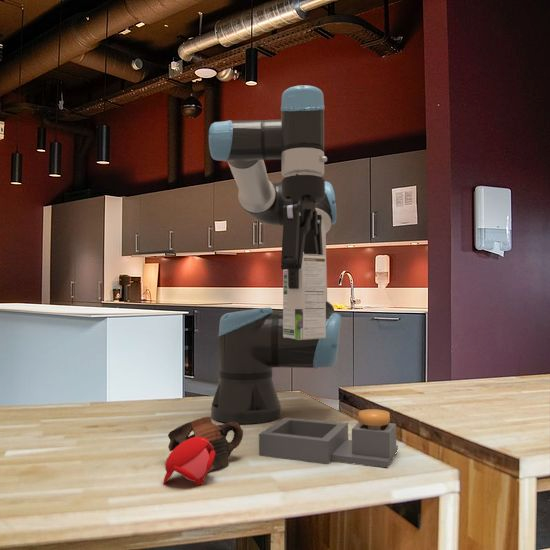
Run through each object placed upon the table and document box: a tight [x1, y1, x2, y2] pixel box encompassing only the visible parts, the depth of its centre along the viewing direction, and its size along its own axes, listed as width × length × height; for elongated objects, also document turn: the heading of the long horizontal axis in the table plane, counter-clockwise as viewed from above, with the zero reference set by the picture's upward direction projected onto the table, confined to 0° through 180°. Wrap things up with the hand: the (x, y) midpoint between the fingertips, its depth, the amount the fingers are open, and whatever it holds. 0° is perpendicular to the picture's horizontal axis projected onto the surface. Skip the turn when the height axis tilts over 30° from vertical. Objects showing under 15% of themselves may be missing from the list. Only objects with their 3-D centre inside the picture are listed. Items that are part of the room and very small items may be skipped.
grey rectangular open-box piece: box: [258, 417, 399, 468], centre depth 89 cm, size 21×12×5 cm, turn 67°
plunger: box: [358, 408, 391, 430], centre depth 86 cm, size 5×5×6 cm
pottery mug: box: [167, 416, 244, 472], centre depth 84 cm, size 12×10×8 cm
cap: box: [163, 437, 215, 486], centre depth 76 cm, size 8×6×6 cm
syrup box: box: [282, 254, 327, 340], centre depth 91 cm, size 6×6×14 cm
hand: (304, 307), depth 91 cm, fingers closed on syrup box, 8 cm apart
